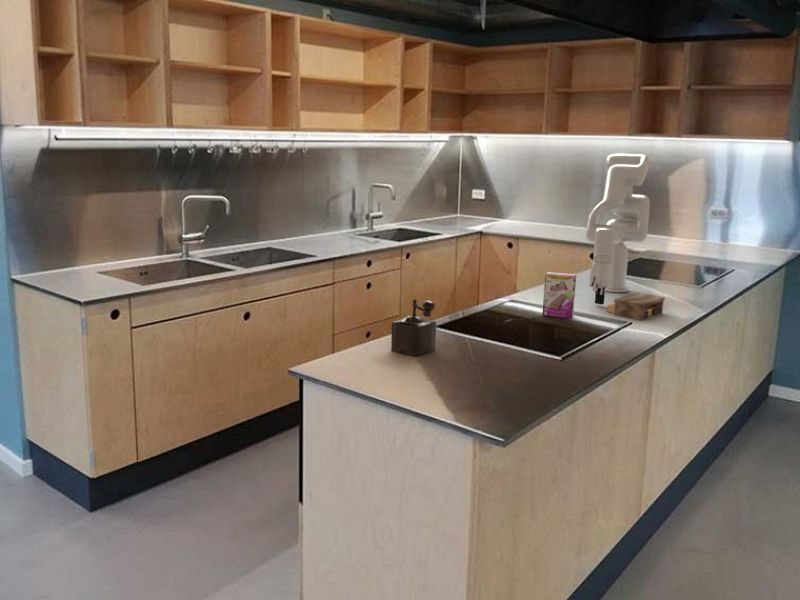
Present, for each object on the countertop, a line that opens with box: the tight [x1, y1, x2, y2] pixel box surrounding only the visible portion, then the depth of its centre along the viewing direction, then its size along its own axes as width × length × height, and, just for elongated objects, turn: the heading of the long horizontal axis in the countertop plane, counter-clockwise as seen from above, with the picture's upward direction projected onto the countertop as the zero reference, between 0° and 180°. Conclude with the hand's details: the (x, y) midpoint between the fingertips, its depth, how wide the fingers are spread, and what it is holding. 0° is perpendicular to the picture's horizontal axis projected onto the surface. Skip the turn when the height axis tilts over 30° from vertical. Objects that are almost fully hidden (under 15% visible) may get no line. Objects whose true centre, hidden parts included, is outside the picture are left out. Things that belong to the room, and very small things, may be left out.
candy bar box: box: [542, 271, 577, 320], centre depth 271 cm, size 11×5×16 cm, turn 71°
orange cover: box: [607, 302, 656, 317], centre depth 280 cm, size 14×12×3 cm
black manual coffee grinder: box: [390, 298, 437, 357], centre depth 224 cm, size 16×11×18 cm
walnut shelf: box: [613, 292, 666, 321], centre depth 277 cm, size 12×18×6 cm, turn 135°
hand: (599, 303), depth 290 cm, fingers closed
